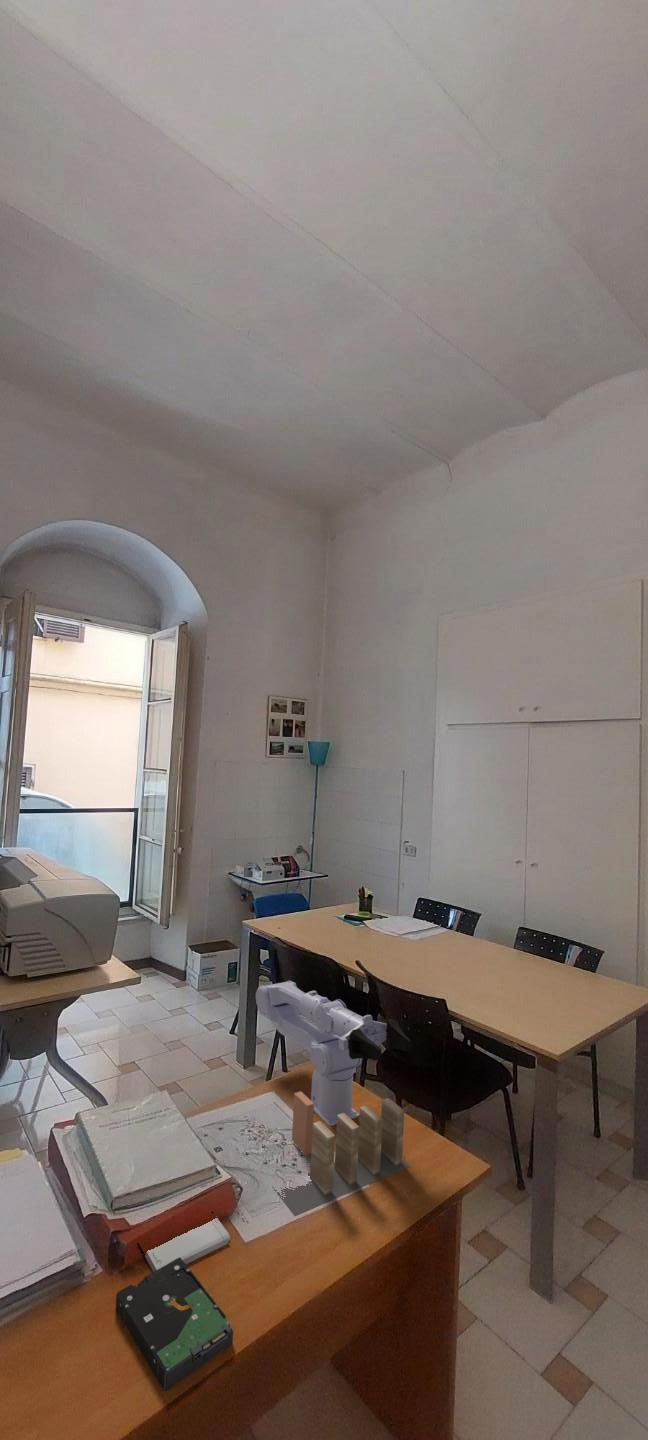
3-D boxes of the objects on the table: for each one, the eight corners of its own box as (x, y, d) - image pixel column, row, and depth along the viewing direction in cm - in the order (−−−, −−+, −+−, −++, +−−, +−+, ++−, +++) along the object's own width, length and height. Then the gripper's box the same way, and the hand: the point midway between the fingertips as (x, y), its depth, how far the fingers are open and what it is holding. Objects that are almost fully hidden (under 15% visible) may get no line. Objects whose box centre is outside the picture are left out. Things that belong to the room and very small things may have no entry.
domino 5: (395, 1165, 120) (398, 1112, 120) (379, 1151, 124) (381, 1099, 124) (401, 1163, 121) (404, 1110, 121) (385, 1148, 125) (388, 1097, 125)
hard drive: (156, 1271, 92) (230, 1235, 100) (137, 1235, 99) (208, 1203, 106) (156, 1283, 92) (230, 1246, 100) (136, 1245, 99) (207, 1213, 106)
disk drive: (113, 1314, 87) (164, 1397, 76) (114, 1293, 87) (166, 1373, 76) (178, 1274, 94) (234, 1345, 83) (179, 1255, 94) (235, 1323, 83)
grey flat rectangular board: (272, 1189, 112) (272, 1186, 112) (383, 1145, 126) (383, 1143, 126) (294, 1218, 106) (294, 1215, 106) (409, 1168, 120) (409, 1166, 120)
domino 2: (324, 1195, 111) (327, 1138, 111) (310, 1178, 115) (313, 1123, 115) (332, 1192, 112) (335, 1135, 112) (317, 1175, 116) (320, 1120, 116)
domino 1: (304, 1158, 121) (307, 1105, 122) (291, 1143, 125) (294, 1093, 126) (311, 1155, 122) (314, 1103, 123) (298, 1141, 126) (300, 1091, 127)
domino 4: (373, 1175, 117) (375, 1120, 117) (357, 1159, 121) (360, 1107, 121) (379, 1172, 118) (382, 1118, 118) (364, 1157, 122) (366, 1105, 122)
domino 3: (349, 1185, 114) (352, 1129, 114) (334, 1168, 118) (337, 1115, 118) (356, 1182, 115) (359, 1126, 115) (341, 1166, 119) (343, 1112, 119)
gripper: (326, 1015, 130) (365, 1036, 118) (380, 1003, 138) (422, 1021, 126) (326, 1051, 129) (365, 1075, 118) (380, 1036, 137) (422, 1058, 126)
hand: (395, 1050), depth 122 cm, fingers open, 7 cm apart
